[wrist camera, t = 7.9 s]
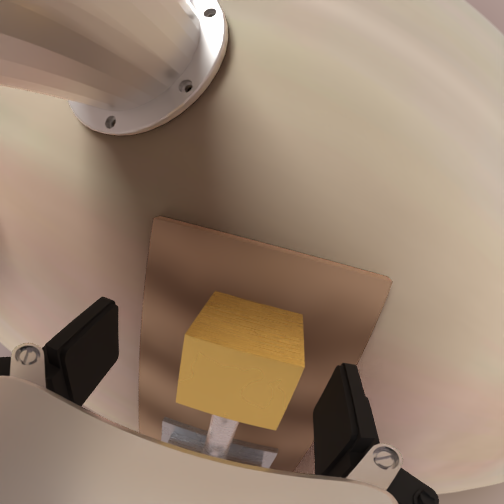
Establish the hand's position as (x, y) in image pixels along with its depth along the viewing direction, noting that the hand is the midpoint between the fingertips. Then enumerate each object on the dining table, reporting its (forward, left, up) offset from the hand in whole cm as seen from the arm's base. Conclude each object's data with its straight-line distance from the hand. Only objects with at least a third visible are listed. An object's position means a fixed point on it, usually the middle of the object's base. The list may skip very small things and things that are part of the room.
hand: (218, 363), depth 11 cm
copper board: (+8, +1, -8) cm, 11 cm away
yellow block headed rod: (+6, +1, -5) cm, 8 cm away
